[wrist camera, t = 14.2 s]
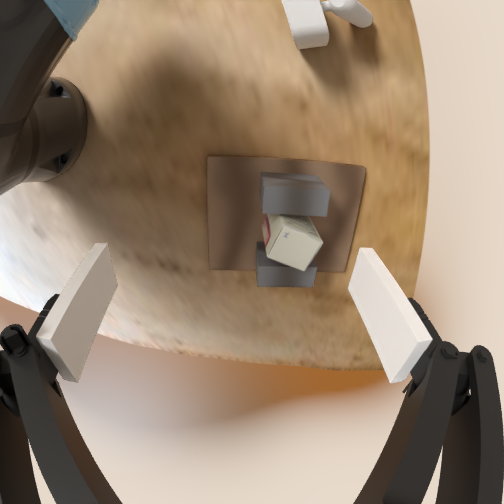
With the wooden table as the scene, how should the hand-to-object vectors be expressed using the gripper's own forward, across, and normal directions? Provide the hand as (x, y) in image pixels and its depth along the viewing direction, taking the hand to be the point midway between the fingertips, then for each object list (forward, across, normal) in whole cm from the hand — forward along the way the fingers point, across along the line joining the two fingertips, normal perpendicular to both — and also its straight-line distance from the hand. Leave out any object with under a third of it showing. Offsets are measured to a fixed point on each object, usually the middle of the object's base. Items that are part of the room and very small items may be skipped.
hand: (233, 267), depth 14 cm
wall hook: (+24, +10, +20) cm, 32 cm away
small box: (+22, +7, -8) cm, 24 cm away
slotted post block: (+22, +7, -8) cm, 25 cm away
